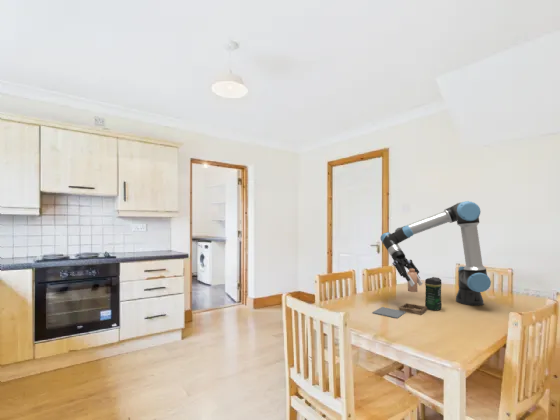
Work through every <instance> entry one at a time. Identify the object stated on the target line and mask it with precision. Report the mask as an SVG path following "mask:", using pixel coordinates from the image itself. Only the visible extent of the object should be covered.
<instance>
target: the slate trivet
mask: <svg viewBox="0 0 560 420" xmlns="http://www.w3.org/2000/svg"><path fill="white" fill-rule="evenodd" d="M406 313H407V312H406V311H401V310H399V309H395V308H391V307H384V306H381V307H379V308H377V309H375V310H374V311H372V314H375V315H379V316H384V317H387V318H388V317H389V318H393V319H399V318H400V317H402V316H404V314H406Z"/></svg>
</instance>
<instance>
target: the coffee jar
mask: <svg viewBox="0 0 560 420" xmlns="http://www.w3.org/2000/svg"><path fill="white" fill-rule="evenodd" d="M424 281H425V282H424V285H425V299H424V300H425V301H424V303H425V304H424V306H426V307H427V310H429V311H430V310H431V311H439V310H441V309H442V305H443V304H442V279H441V278H440V277H435V276H432V277H428V278H426V279H425V280H424Z"/></svg>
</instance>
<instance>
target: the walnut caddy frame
mask: <svg viewBox="0 0 560 420" xmlns="http://www.w3.org/2000/svg"><path fill="white" fill-rule="evenodd" d="M398 310H401V311H406V313H408V314H414V315H419V316H422V315H423V314H424V313H426V312H427V311H428V309H427V307H426V306H425V305H419V304H414V303H408V302H406V303H404V304H403V305H401V306H399V308H398Z"/></svg>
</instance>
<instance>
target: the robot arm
mask: <svg viewBox="0 0 560 420" xmlns="http://www.w3.org/2000/svg"><path fill="white" fill-rule="evenodd" d="M480 215H481V208H480V206H479V205H478V204H477V203H475V202H473V201H469V200H467V201H462V202H457V203H456V204H453V205H451V206H450V207H447V208H445V209H444V210H443V211H441V212H439V213H436V214H433V215H429V216H427V217H426V218H422V219H419V220H418V221H417V220H416V221H415V222H412V223H409V224H407V225H404V226H401V227H398V228H396V229H395V230H394V232H392V233H390V232H388V231H387V232H384V233H383V234H381V235H380V241H381V242H382V245H383V246H384V248H385V249H386V250H387V252H388V253H389V255H390V256H391V258H392V260H393V262H392V265H393V266H394V267H395V270H396V271H397V272H398V274H399V275H400V277H402V278H404V279H405V280H406V281H407V283H408V282H409V283H410V285H411V287H413V285H414V284H415V283H414V282H413V280H412V279H411V277H410V275H409V274H408V275H407V272H408V271H409V269H410V268H413V269H415V272H417V285H419V286H422V285H423V281H422V279H421V277H420V276H419V274H420V271H419V269H418V268H417V267H416V265H415V263H413V260H412V259H407V257H406V254H405V253H404V251H403V250H402V248H401V247H400V245H399V244H401V243H402V242H403V241H406V240H408V239H410V238H411V237H413V236H414V235H416V234H419V233H422V232H424V231H428V230H431V229H433V228H436V227H439V226H441V225H444V224H447V223H449V224H451V223H454V222H456V224H457V226H458V227H460V232H461V239H462V241H461V242H462V247H463V255H464V261H465V266H459V267H458V271H457V272H458V290H457V293H456V295H455V301H456V302H457V303H459V304H463V305H467V306H483V305H484V304H485V303H484V299H483V296H482V295H483V294H482V293H483V292H486V291H488V290H489V289H490V287H491V283H492V281H491V278H490V276H488V272H487V267H486V266H484V264H483V257H482V251H481V245H480V237H479V231H478V225H479V224H480ZM407 270H408V271H407Z"/></svg>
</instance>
